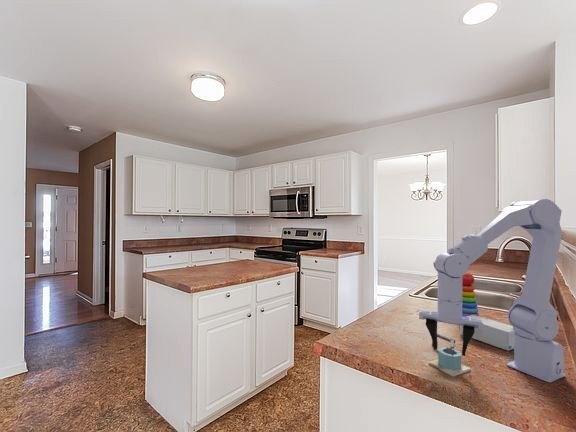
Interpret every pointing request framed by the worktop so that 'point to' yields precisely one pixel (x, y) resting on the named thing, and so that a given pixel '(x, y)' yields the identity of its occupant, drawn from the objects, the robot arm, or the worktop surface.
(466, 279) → the stacking toy
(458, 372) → the peg stand
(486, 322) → the skincare box
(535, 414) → the worktop surface
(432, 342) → the handle
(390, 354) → the worktop surface
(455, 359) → the ring
